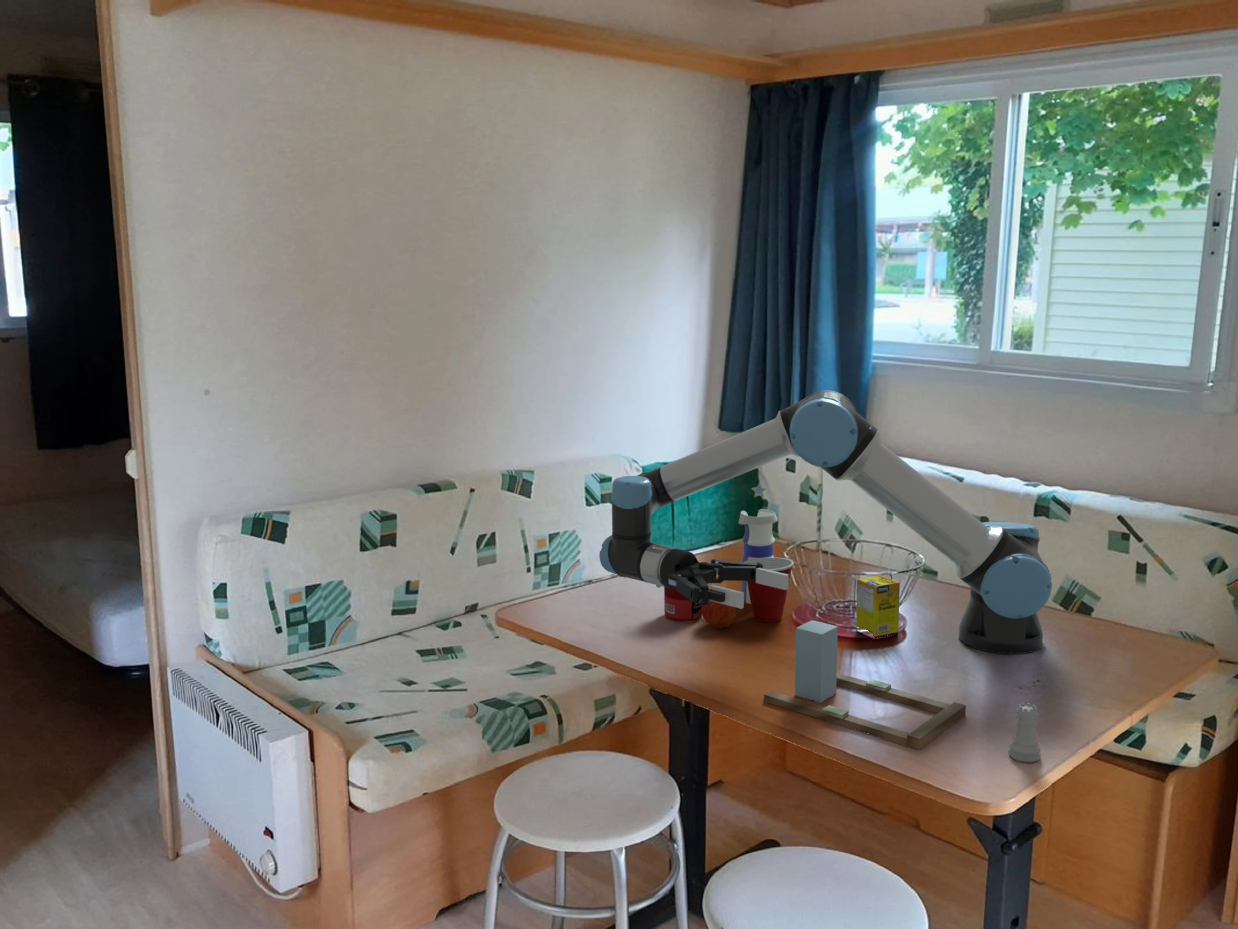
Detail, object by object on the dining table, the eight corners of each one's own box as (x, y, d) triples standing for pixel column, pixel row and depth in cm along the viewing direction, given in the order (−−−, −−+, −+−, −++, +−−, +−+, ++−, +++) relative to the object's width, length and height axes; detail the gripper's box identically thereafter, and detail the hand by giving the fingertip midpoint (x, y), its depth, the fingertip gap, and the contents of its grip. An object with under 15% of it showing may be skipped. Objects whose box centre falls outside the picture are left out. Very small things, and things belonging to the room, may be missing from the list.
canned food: (700, 623, 217) (700, 571, 215) (661, 621, 218) (661, 570, 216) (704, 611, 224) (704, 561, 222) (667, 609, 226) (667, 559, 224)
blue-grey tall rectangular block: (794, 695, 181) (795, 627, 179) (810, 686, 184) (812, 620, 182) (820, 703, 178) (821, 634, 175) (836, 693, 181) (837, 626, 179)
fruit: (742, 629, 213) (742, 591, 211) (711, 634, 210) (711, 595, 209) (726, 619, 219) (726, 581, 218) (696, 623, 217) (695, 586, 215)
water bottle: (731, 595, 234) (731, 484, 230) (766, 591, 237) (767, 481, 232) (746, 606, 227) (747, 492, 222) (783, 602, 229) (784, 488, 225)
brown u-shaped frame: (764, 701, 178) (764, 691, 178) (815, 673, 190) (815, 663, 190) (919, 750, 160) (919, 739, 160) (965, 715, 172) (965, 705, 171)
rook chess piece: (1033, 749, 160) (1036, 699, 158) (1045, 763, 155) (1048, 712, 154) (1003, 750, 159) (1006, 700, 158) (1015, 764, 155) (1018, 713, 154)
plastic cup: (758, 606, 227) (758, 551, 225) (802, 615, 220) (803, 560, 218) (730, 619, 219) (730, 563, 217) (775, 630, 212) (776, 572, 210)
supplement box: (899, 636, 208) (900, 582, 206) (874, 641, 206) (876, 586, 203) (879, 626, 213) (880, 574, 211) (855, 631, 211) (856, 578, 209)
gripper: (711, 572, 208) (804, 595, 194) (626, 603, 190) (722, 630, 176) (711, 535, 207) (805, 555, 193) (626, 562, 189) (722, 587, 175)
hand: (765, 591), depth 184 cm, fingers open, 13 cm apart
